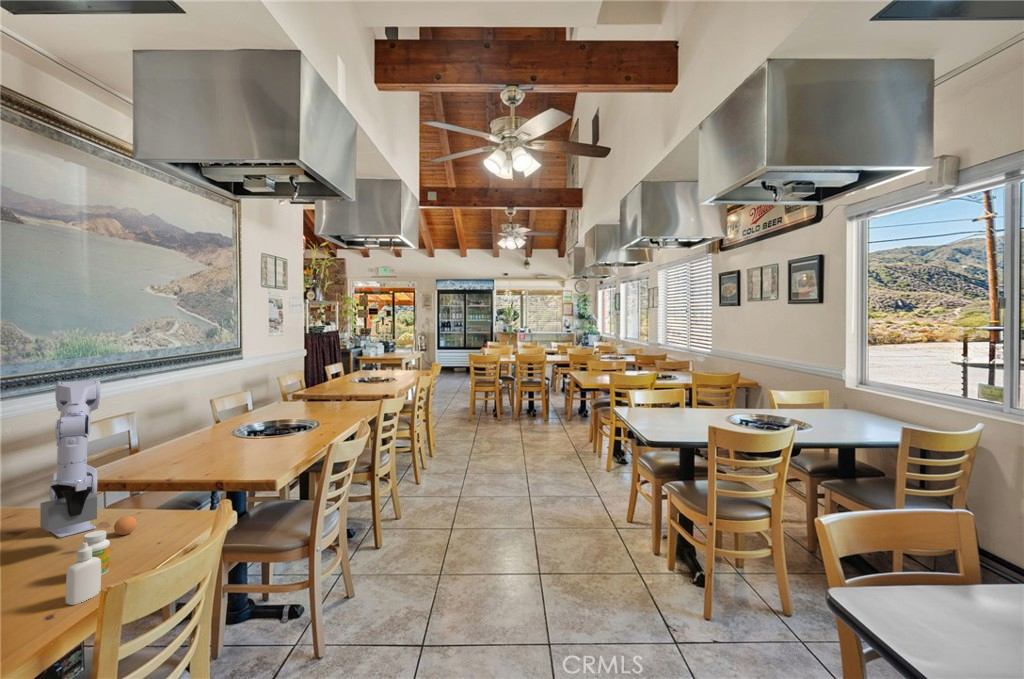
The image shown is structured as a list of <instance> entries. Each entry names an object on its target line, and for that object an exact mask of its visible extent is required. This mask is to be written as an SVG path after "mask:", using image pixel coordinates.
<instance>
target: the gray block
mask: <svg viewBox="0 0 1024 679" xmlns="http://www.w3.org/2000/svg"><path fill="white" fill-rule="evenodd" d="M39 514H40V517H39V518H40V519H39V521H40V523H39V524H40V527H41V528H42V529H44V530H45V531H47V532H50V531H52V530H56V529H60V528H63V527H67V526H71V525H75V524H79V523H83V522H86V521H90V522H91V521H94V520H97V519H98V496H97V495H96V494H95V495H93V494H91V493H89V495H88V497H87V498H86V501H85V503H84V507H83V510H82V513H81V515H77V516H72V517H70V516H69V513H68V507H67V502H66V499H65V498H61V499H56V500H52V501H51V500H48V501H43V502H40V513H39Z"/></svg>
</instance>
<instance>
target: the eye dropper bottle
mask: <svg viewBox="0 0 1024 679" xmlns="http://www.w3.org/2000/svg"><path fill="white" fill-rule="evenodd" d="M65 579H66V582H65V604H66V605H70V606H74V605H78V604H82V603H83V602H86V600H87V601H89V600H90V598H91V599H93V598H94V597H96V596H98V595H99V594H100V593H99V591H100V592H101V590H102V589H101V588H102V576H101V559H100V558H98V557H92V547H88V544H87V542H86V543H84V542H83V543H82V548H81V549H80V548H79V549H78V550H77V551H76V561H75V562H73V564H70V566H69V567H68V568H67V570H66V578H65ZM88 599H89V600H88ZM81 602H82V603H81Z"/></svg>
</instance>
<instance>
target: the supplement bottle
mask: <svg viewBox="0 0 1024 679" xmlns="http://www.w3.org/2000/svg"><path fill="white" fill-rule="evenodd" d="M86 542H87V544H88V547H92V557H98V558H100V559H101V577H102V576H104V575H106V574H107V573H108V572H109V571H110V556H111V555H110V553H111V552H110V548H111V541H110V540H108V539H107V531H106V530H93V531H89V532H88V533H86V534H84V535H83V543H86ZM82 545H83V544H82ZM82 545H80V547H79V549H81V548H82Z"/></svg>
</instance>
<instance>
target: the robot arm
mask: <svg viewBox="0 0 1024 679" xmlns="http://www.w3.org/2000/svg"><path fill="white" fill-rule="evenodd" d="M100 399H101V381H100V380H98V379H97V380H85V381H84V380H82V381H80V380H79V381H78V380H77V381H76V380H74V381H61V380H60V381H59V380H58V382H57V383H55V403H56V408H57V411H58V412H60V415H59V418H58V419H56V421H55V429H54V430H55V432H54V433H55V440H56V447H57V451H56V452H57V454H56V457H57V458H56V471H55V472H54V473H53V475H51V480H50V481H49V484H50V485H49V486H50V487H49V501H52V500H56V499H61V498H65V499H66V502H67V507H68V513H69V516H70V517H72V516H77V515H81V513H82V510H83V507H84V503H85V501H86V498H87V497H88V495H89V493H91V494H93V495H95V496H96V495H97V493H98V470H97V468H95V467H93V466H92V465H89V464H88V438H89V436H90V434H91V417H90V414H91V412H94V411H95V410H98V409H99V406H100ZM96 528H97V526H95V525H94V524H92V523H91V520H90V521H86V522H83V523H79V524H75V525H71V526H67V527H63V528H60V529H56V530H52V531H49V532H50V533H52V534H53V535H54V536H56V537H58V538H64V537H69V536H72V535H75V534H79V533H83V532H87V531H92V530H94V529H96Z"/></svg>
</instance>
